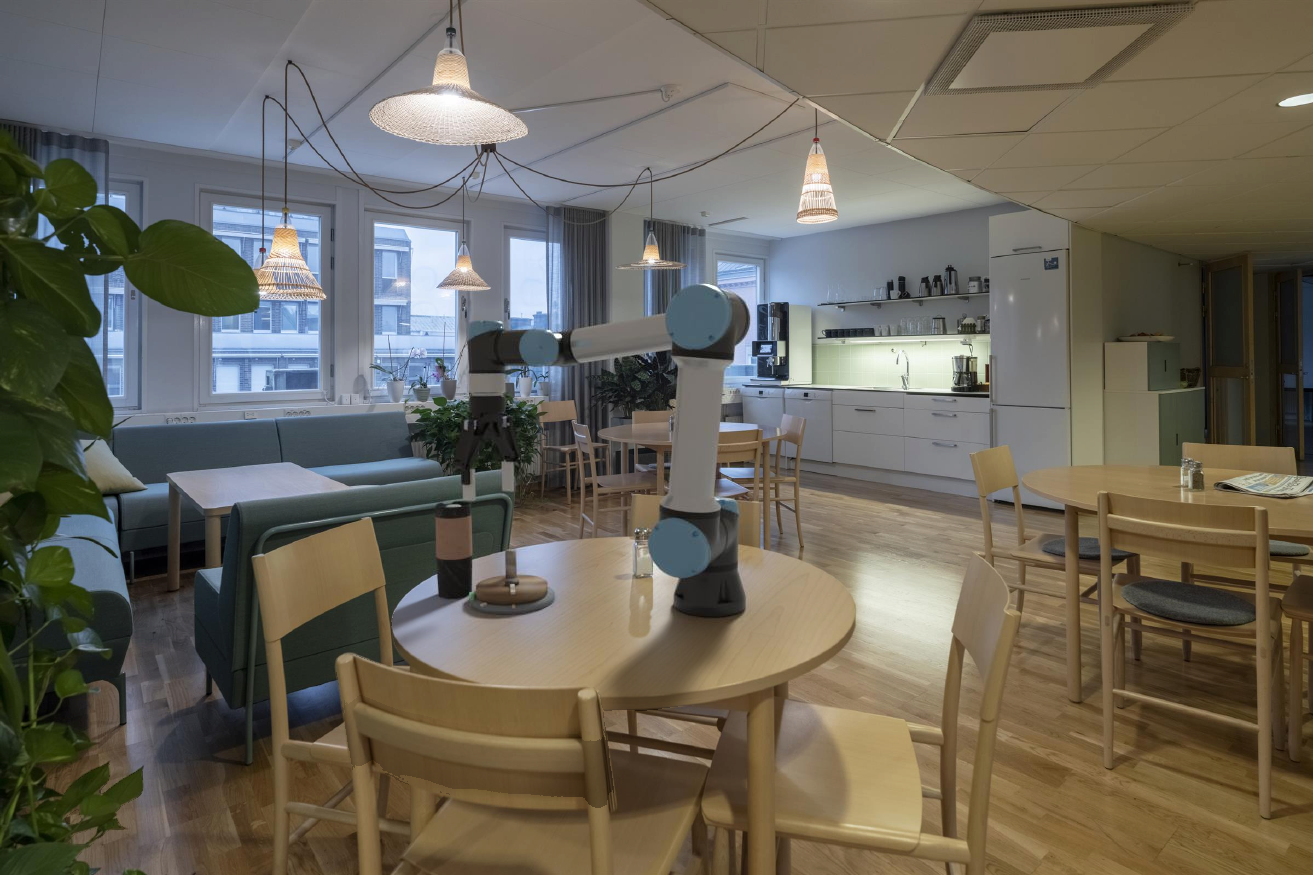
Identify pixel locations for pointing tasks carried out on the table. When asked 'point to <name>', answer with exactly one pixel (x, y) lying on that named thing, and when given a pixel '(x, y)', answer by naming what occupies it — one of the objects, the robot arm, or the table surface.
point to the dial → (511, 585)
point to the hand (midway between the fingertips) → (489, 495)
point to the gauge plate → (511, 609)
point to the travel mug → (454, 549)
